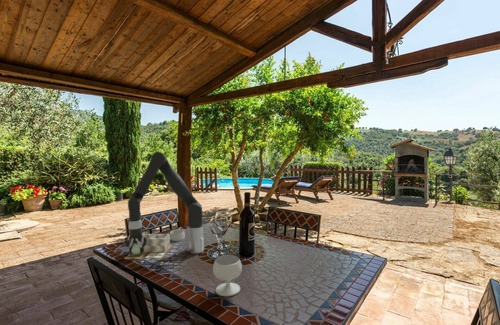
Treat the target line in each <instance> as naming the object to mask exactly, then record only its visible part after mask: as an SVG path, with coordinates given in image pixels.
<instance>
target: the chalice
mask: <svg viewBox="0 0 500 325" xmlns="http://www.w3.org/2000/svg"><path fill="white" fill-rule="evenodd" d="M242 270H243V266H242V261H241V260H240V258H239V256H237V255H235V254H234V255H233V254H225V255H220V256H218V257H217V258H216V259H215V260H214V262H213V267H212V272H213V275H214V276H215V277H216V278H217V279H219V280H223V281H224V283H221V284H219V285H217V287H216V288H215V293H216V294H217V295H218V296H222V297H232V296H235V295H237V294H239V293H240V292H241V287H240V285H239V284H237V283H235V282H231V281H232V280H234V279H236V278H237V277H239V276H240V275H241V273H242Z"/></svg>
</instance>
